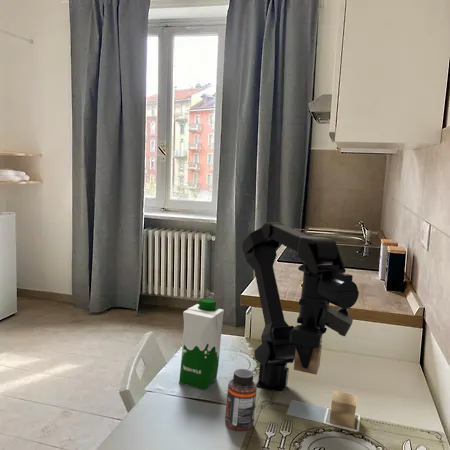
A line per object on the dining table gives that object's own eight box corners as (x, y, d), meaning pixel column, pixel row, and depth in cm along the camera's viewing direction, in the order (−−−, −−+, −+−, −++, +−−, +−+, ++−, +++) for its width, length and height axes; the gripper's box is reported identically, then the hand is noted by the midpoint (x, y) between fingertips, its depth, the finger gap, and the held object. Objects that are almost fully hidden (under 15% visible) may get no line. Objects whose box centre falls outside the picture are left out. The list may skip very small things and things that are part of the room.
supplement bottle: (223, 416, 98) (228, 365, 96) (250, 417, 98) (255, 366, 97) (225, 432, 92) (230, 378, 91) (255, 433, 92) (260, 379, 91)
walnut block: (293, 369, 100) (295, 347, 100) (297, 361, 105) (299, 340, 104) (316, 374, 99) (318, 352, 98) (319, 366, 103) (321, 344, 103)
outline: (323, 423, 98) (323, 422, 98) (327, 408, 105) (327, 407, 105) (358, 432, 95) (358, 431, 95) (360, 415, 102) (360, 415, 102)
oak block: (329, 422, 98) (331, 400, 98) (331, 411, 103) (334, 390, 103) (353, 428, 97) (356, 406, 96) (354, 417, 102) (357, 395, 101)
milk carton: (221, 378, 116) (228, 301, 113) (206, 393, 107) (213, 310, 105) (190, 369, 119) (196, 295, 116) (173, 383, 110) (179, 303, 108)
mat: (286, 414, 100) (286, 413, 100) (292, 400, 107) (292, 399, 107) (354, 431, 96) (354, 431, 96) (355, 416, 102) (356, 415, 102)
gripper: (349, 312, 88) (340, 389, 90) (355, 291, 106) (347, 356, 108) (292, 302, 92) (284, 376, 94) (307, 284, 110) (300, 346, 111)
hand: (307, 363), depth 102 cm, fingers closed on walnut block, 5 cm apart
